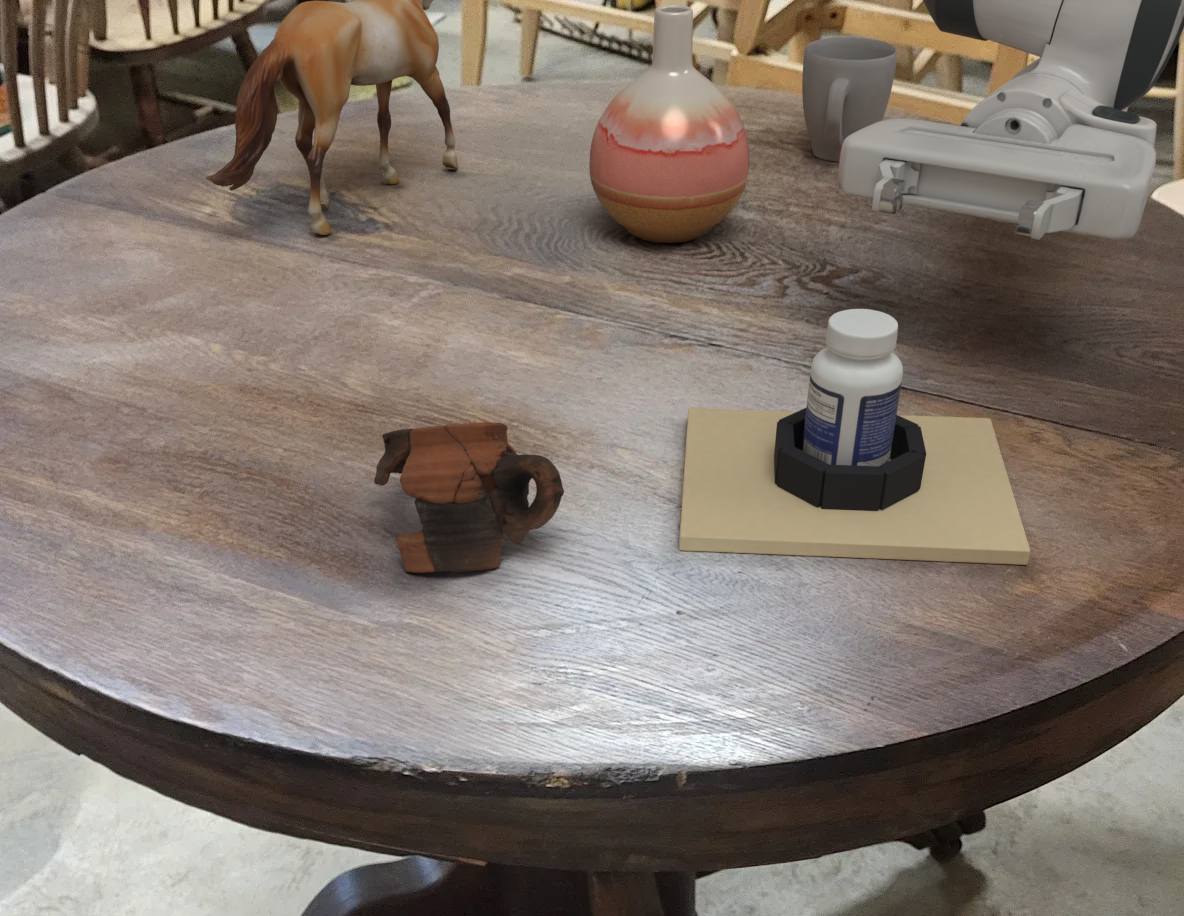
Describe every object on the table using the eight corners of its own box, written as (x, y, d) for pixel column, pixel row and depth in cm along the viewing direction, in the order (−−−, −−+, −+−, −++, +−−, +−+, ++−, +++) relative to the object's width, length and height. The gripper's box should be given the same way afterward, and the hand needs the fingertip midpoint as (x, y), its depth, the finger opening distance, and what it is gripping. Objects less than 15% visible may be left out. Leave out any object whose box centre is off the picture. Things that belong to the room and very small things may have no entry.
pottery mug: (352, 580, 75) (335, 434, 73) (434, 565, 83) (420, 434, 82) (540, 569, 70) (526, 412, 68) (607, 554, 78) (595, 415, 77)
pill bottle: (887, 454, 82) (910, 305, 76) (886, 497, 78) (911, 345, 72) (801, 447, 83) (818, 300, 77) (796, 490, 79) (813, 338, 73)
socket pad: (987, 431, 86) (998, 382, 84) (1027, 565, 74) (1040, 513, 72) (687, 420, 88) (690, 372, 86) (679, 550, 76) (681, 498, 73)
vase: (775, 240, 113) (795, 14, 101) (642, 272, 107) (647, 38, 96) (688, 194, 122) (696, -18, 110) (561, 221, 116) (556, 2, 105)
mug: (803, 136, 134) (813, 34, 128) (889, 143, 132) (903, 40, 126) (781, 173, 126) (790, 65, 120) (872, 181, 124) (886, 72, 118)
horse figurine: (436, 149, 132) (417, -86, 119) (498, 161, 129) (485, -78, 116) (216, 246, 113) (163, -22, 99) (283, 264, 109) (237, -11, 96)
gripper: (885, 84, 92) (806, 136, 84) (1183, 123, 84) (1130, 186, 75) (874, 175, 97) (797, 234, 88) (1157, 221, 88) (1104, 292, 79)
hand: (954, 212), depth 81 cm, fingers open, 8 cm apart
